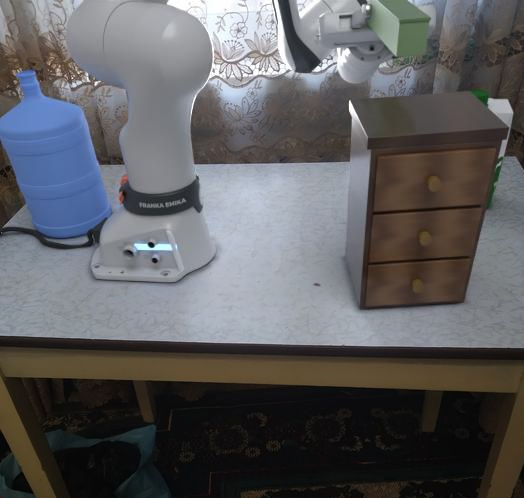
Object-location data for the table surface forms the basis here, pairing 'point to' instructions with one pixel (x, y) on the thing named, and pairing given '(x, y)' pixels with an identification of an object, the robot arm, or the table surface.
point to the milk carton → (505, 114)
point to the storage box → (400, 26)
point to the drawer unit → (418, 195)
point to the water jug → (54, 162)
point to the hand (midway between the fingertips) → (384, 7)
